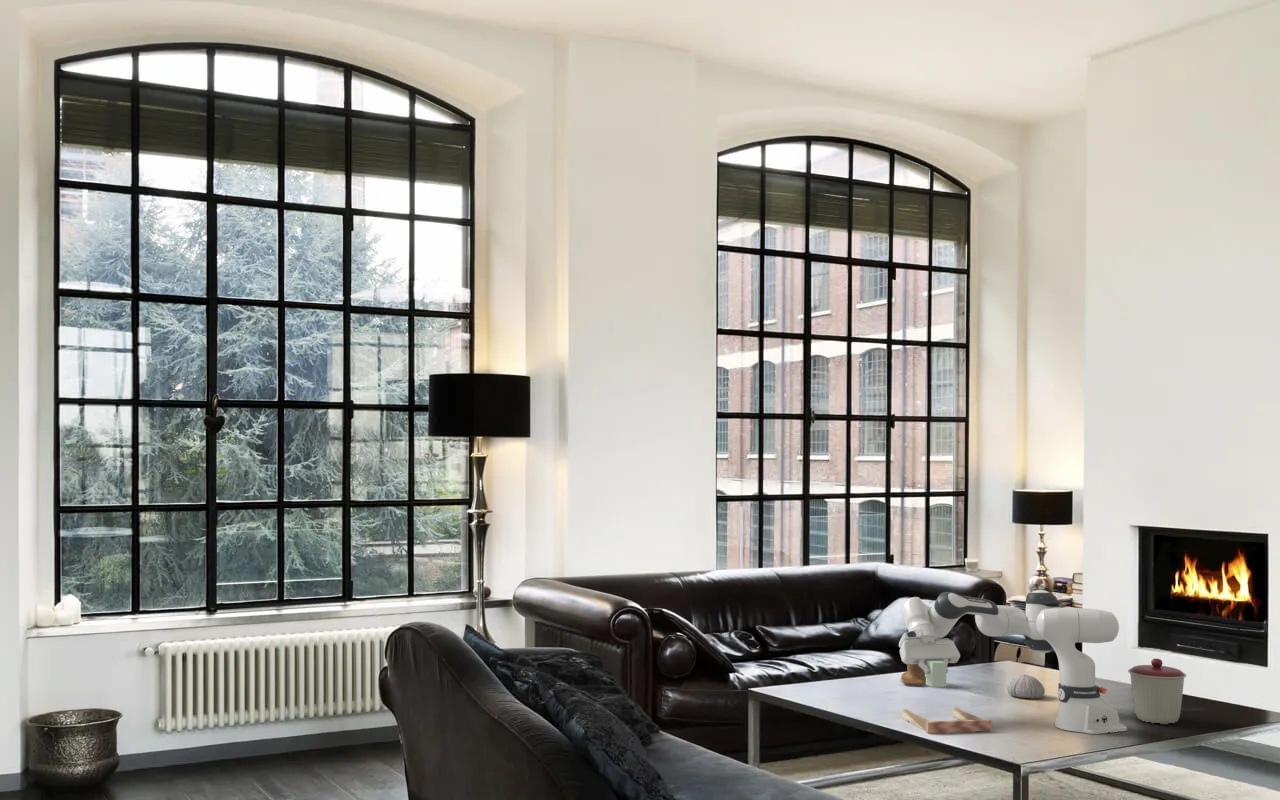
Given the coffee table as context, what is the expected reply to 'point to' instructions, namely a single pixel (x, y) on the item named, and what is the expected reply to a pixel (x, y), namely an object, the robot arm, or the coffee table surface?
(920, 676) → the tan boot
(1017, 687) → the sea urchin shell
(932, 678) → the pale green block
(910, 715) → the bay
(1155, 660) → the canister
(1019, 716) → the coffee table surface
